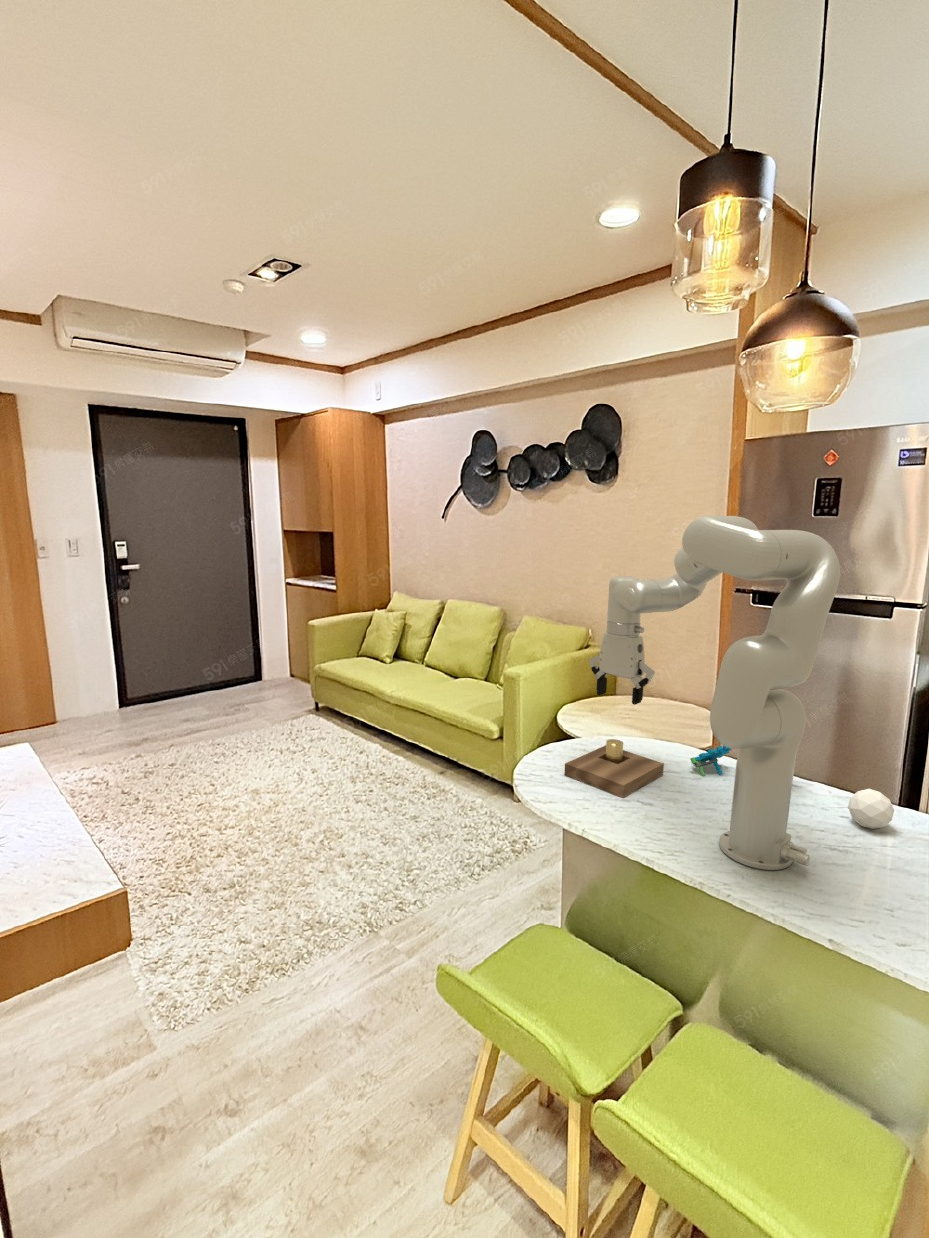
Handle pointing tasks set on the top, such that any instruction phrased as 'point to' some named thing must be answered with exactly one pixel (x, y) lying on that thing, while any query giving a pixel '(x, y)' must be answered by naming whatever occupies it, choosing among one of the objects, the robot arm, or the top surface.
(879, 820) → the geometric ball
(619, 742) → the brass cylinder
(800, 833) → the top surface
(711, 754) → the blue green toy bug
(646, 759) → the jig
